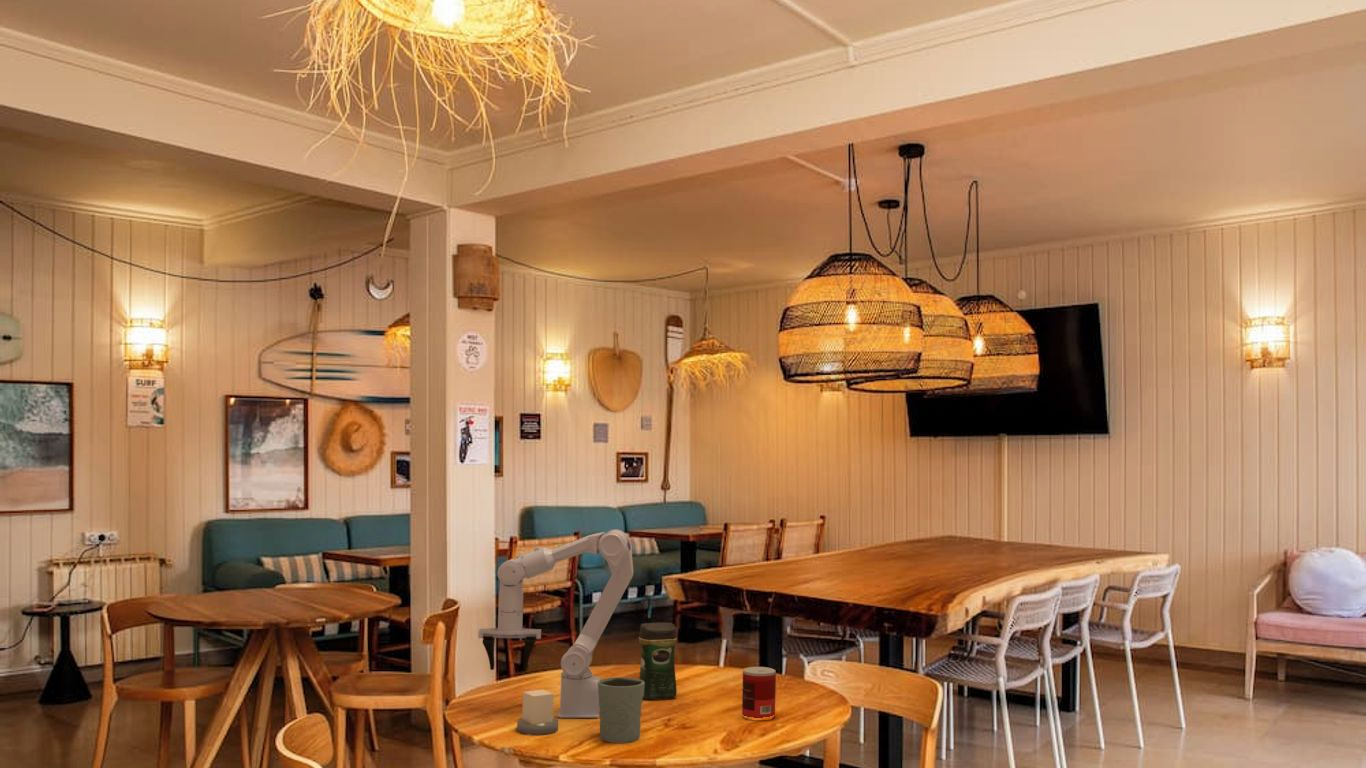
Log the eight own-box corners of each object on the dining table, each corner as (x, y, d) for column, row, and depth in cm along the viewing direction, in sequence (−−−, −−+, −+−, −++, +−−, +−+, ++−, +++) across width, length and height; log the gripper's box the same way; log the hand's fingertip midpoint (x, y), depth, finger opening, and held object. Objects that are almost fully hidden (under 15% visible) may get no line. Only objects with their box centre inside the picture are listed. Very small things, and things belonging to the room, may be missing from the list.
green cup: (605, 745, 223) (606, 687, 224) (589, 733, 232) (591, 678, 233) (650, 741, 227) (651, 684, 228) (633, 729, 237) (634, 675, 237)
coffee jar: (670, 692, 274) (672, 619, 275) (679, 699, 266) (681, 624, 267) (634, 694, 271) (636, 620, 272) (641, 701, 263) (643, 625, 264)
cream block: (542, 716, 238) (543, 689, 239) (552, 721, 234) (553, 693, 235) (522, 719, 235) (523, 691, 236) (532, 724, 231) (533, 696, 232)
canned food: (779, 715, 252) (780, 668, 253) (767, 723, 245) (768, 674, 246) (749, 711, 255) (750, 665, 256) (737, 718, 248) (737, 671, 249)
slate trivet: (558, 724, 239) (559, 715, 239) (557, 735, 230) (557, 725, 230) (518, 724, 239) (518, 715, 239) (515, 735, 230) (515, 725, 230)
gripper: (542, 608, 256) (540, 665, 255) (481, 608, 255) (479, 665, 254) (540, 613, 249) (538, 672, 248) (478, 612, 248) (476, 671, 247)
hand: (508, 669), depth 250 cm, fingers open, 7 cm apart
